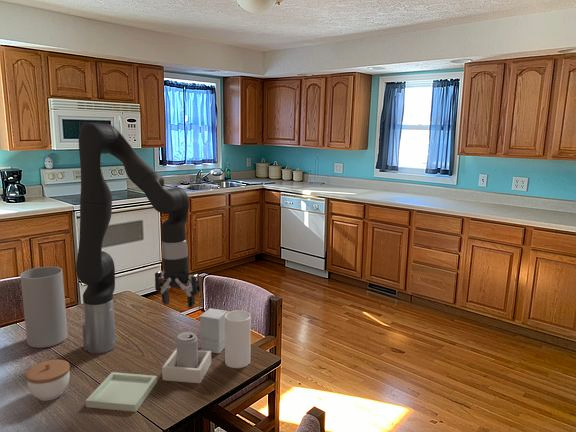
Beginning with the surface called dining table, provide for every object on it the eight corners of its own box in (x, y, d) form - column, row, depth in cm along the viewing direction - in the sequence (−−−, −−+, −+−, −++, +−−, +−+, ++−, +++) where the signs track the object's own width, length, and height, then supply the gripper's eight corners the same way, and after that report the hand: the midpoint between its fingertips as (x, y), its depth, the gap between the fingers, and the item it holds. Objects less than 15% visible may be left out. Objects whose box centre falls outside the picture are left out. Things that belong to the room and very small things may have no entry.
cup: (225, 355, 144) (225, 310, 141) (250, 354, 145) (250, 310, 142) (224, 368, 136) (223, 321, 133) (250, 367, 137) (250, 320, 134)
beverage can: (193, 378, 131) (192, 341, 128) (173, 375, 132) (172, 339, 130) (201, 367, 137) (200, 332, 135) (182, 364, 138) (181, 329, 136)
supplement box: (229, 344, 152) (228, 310, 149) (219, 354, 145) (218, 319, 143) (210, 340, 154) (210, 307, 152) (199, 350, 147) (199, 315, 145)
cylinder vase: (45, 352, 144) (38, 280, 139) (18, 344, 148) (11, 275, 144) (75, 336, 155) (70, 269, 150) (50, 329, 160) (44, 264, 155)
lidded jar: (31, 388, 124) (27, 358, 122) (72, 380, 128) (70, 351, 127) (25, 410, 114) (22, 378, 113) (70, 400, 119) (68, 369, 117)
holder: (162, 380, 129) (162, 367, 129) (176, 360, 141) (176, 348, 140) (200, 383, 128) (200, 370, 127) (211, 362, 140) (211, 350, 139)
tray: (86, 407, 116) (85, 400, 116) (112, 378, 130) (112, 372, 129) (135, 411, 115) (135, 405, 114) (157, 382, 128) (156, 375, 128)
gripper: (147, 256, 128) (151, 307, 131) (189, 260, 124) (193, 312, 127) (161, 249, 135) (165, 298, 138) (202, 253, 131) (205, 303, 134)
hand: (178, 305), depth 133 cm, fingers open, 8 cm apart
